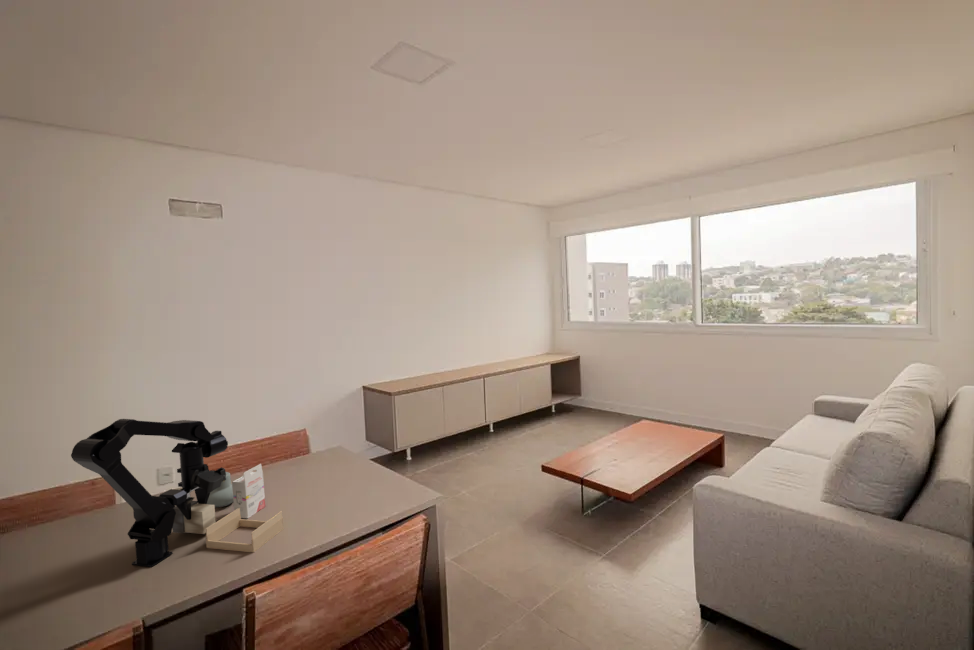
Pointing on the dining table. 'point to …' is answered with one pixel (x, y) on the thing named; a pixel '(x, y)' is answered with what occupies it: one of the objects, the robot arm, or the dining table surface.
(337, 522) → the dining table surface
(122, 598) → the dining table surface
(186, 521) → the steel ended block
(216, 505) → the air freshener
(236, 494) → the ink cartridge box
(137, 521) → the robot arm
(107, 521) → the dining table surface
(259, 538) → the wooden tray frame
